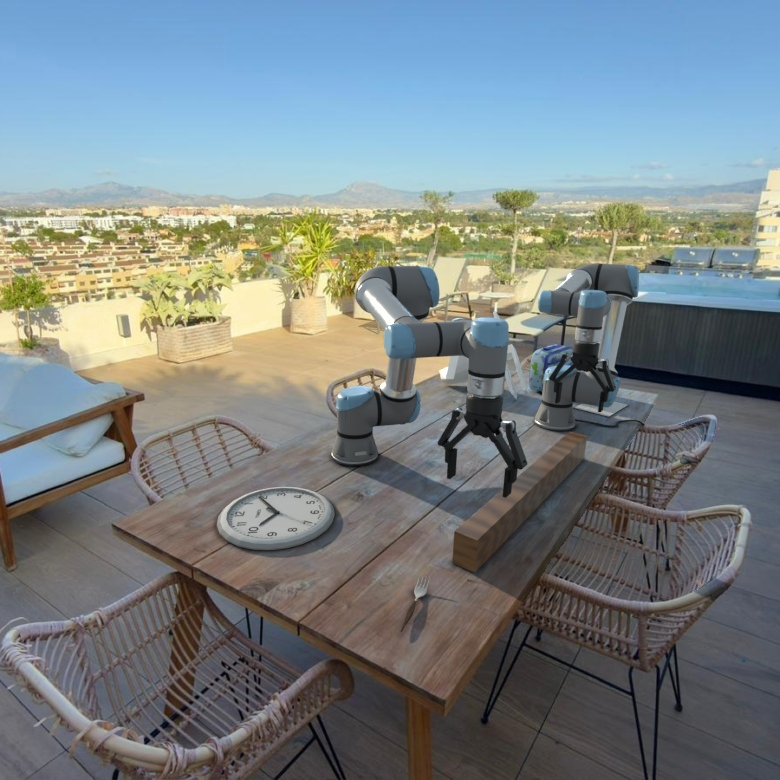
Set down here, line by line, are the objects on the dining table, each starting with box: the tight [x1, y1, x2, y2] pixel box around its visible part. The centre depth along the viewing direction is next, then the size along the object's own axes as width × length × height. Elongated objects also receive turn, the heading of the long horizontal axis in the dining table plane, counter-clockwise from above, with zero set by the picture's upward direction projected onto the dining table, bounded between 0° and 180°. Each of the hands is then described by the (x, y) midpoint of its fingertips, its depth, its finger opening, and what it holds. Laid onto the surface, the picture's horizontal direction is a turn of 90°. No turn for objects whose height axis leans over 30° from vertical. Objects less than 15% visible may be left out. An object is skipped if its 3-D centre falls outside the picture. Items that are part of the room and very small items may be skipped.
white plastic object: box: [438, 310, 531, 400], centre depth 245 cm, size 37×45×31 cm
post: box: [451, 431, 588, 574], centre depth 146 cm, size 77×6×8 cm, turn 143°
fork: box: [400, 573, 431, 633], centre depth 105 cm, size 3×16×2 cm, turn 160°
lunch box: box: [528, 344, 573, 393], centre depth 247 cm, size 26×11×21 cm, turn 134°
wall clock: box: [216, 486, 336, 551], centre depth 136 cm, size 30×2×30 cm
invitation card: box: [573, 401, 629, 418], centre depth 226 cm, size 21×1×15 cm
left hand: (478, 485), depth 115 cm, fingers open, 13 cm apart
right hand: (578, 406), depth 167 cm, fingers open, 13 cm apart
